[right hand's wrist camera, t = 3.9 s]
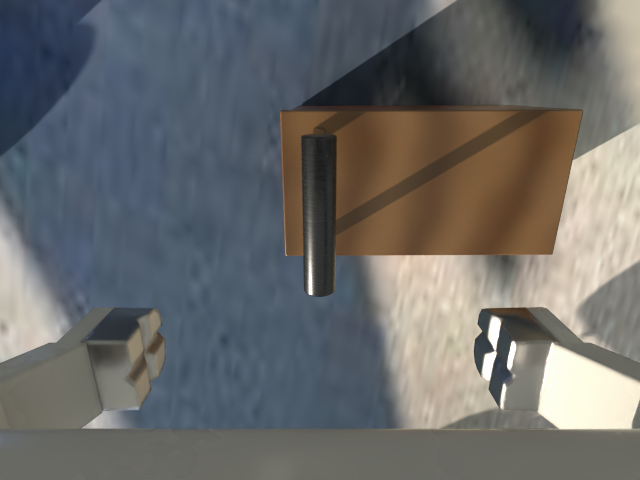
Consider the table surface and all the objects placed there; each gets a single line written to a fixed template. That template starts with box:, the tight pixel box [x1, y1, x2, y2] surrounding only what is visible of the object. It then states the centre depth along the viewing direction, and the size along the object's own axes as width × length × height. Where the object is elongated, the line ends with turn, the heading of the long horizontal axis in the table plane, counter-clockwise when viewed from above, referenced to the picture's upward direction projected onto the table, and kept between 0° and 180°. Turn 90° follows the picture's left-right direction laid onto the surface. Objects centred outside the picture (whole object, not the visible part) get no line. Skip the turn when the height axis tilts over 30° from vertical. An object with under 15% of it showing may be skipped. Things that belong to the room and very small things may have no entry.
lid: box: [280, 109, 583, 297], centre depth 22 cm, size 18×9×9 cm, turn 90°
